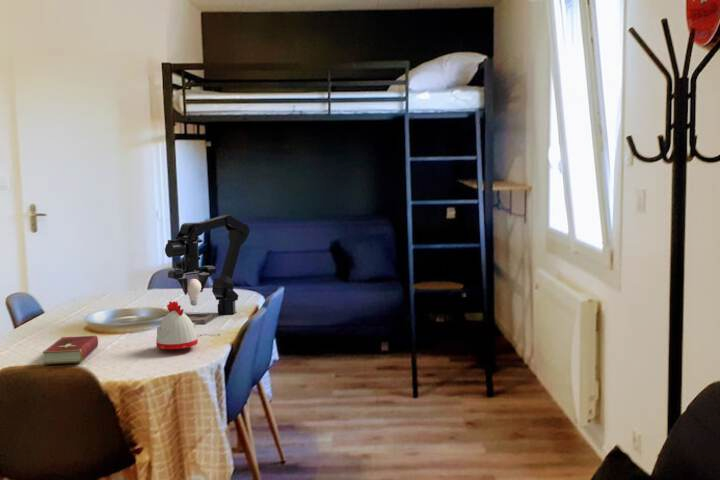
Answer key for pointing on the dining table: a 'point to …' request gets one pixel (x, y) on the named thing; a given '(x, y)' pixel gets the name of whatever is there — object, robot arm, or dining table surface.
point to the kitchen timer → (176, 329)
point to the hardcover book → (70, 349)
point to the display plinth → (201, 318)
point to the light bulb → (193, 290)
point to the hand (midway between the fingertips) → (193, 293)
